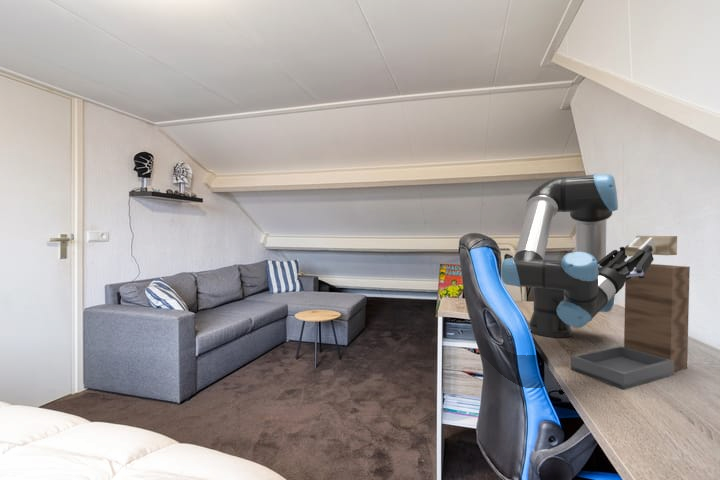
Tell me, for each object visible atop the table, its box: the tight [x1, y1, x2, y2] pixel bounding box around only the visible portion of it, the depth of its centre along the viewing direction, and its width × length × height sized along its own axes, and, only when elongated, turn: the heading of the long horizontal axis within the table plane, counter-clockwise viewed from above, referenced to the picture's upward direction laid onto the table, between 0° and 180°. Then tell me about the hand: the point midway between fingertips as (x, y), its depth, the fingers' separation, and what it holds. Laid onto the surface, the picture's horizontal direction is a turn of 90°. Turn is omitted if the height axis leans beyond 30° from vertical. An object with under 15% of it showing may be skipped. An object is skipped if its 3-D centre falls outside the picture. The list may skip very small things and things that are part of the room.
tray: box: [570, 345, 675, 391], centre depth 99 cm, size 23×14×4 cm, turn 114°
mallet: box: [624, 235, 678, 257], centre depth 102 cm, size 16×8×6 cm, turn 114°
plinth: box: [623, 263, 691, 373], centre depth 105 cm, size 9×12×30 cm
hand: (646, 241), depth 102 cm, fingers closed on mallet, 2 cm apart
